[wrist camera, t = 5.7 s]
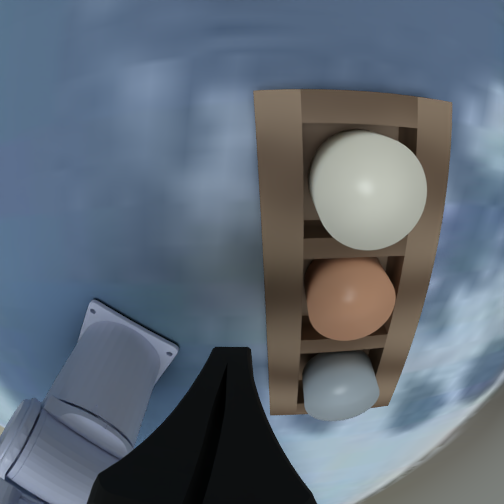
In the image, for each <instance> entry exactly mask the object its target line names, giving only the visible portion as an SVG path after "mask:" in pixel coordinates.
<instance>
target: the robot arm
mask: <svg viewBox="0 0 504 504" xmlns="http://www.w3.org/2000/svg"><path fill="white" fill-rule="evenodd" d="M93 309H94V310H95V311H94V310H93ZM178 350H179V348H178V346H177V345H176V344H174V343H172V342H170V341H168V340H166V339H164V338H162V337H160V336H158V335H157V334H155V333H153V332H151V331H149V330H147V329H145V328H144V327H142V326H140V325H138V324H136V323H135V322H133V321H131V320H129V319H128V318H126V317H124V316H122V315H121V314H119V313H117V312H116V311H114V310H112V309H110V308H109V307H107V306H105V305H104V304H102V303H101V302H99V301H97V300H92V301H91V302H90V303H89V306H88V309H87V312H86V316H85V319H84V322H83V325H82V329H81V332H80V335H79V339H78V342H77V345H76V346H75V348H74V350H73V351H72V353H71V354H70V356H69V358H68V359H67V361H66V363H65V364H64V366H63V368H62V369H61V371H60V373H59V374H58V376H57V378H56V379H55V381H54V383H53V385H52V386H51V388H50V390H49V392H48V393H47V395H46V397H45V399H44V400H43V401H42V402H40V401H38V400H37V399H36V398H32V399H25V400H23V401H22V402H21V404H20V405H19V406H18V408H17V409H16V411H15V412H14V414H13V415H12V417H11V419H10V420H9V422H8V424H7V425H6V427H5V429H4V431H3V433H2V434H1V436H0V504H317V502H316V501H315V499H314V496H313V494H312V492H311V491H310V490H309V489H308V487H307V486H306V485H305V483H304V482H303V481H302V479H301V478H300V476H299V475H298V474H297V472H296V471H295V469H294V468H293V466H292V465H291V463H290V461H289V460H288V458H287V456H286V455H285V453H284V451H283V449H282V448H281V446H280V444H279V442H278V440H277V439H276V437H275V435H274V433H273V431H272V428H271V426H270V424H269V422H268V420H267V417H266V415H265V412H264V410H263V407H262V404H261V402H260V399H259V396H258V392H257V389H256V385H255V382H254V377H253V366H252V356H251V349H250V348H248V347H215V348H213V350H212V352H211V354H210V356H209V358H208V360H207V362H206V363H205V365H204V367H203V369H202V370H201V372H200V374H199V375H198V377H197V378H196V380H195V381H194V383H193V385H192V386H191V388H190V389H189V391H188V392H187V393H186V395H185V396H184V397H183V399H182V400H181V401H180V403H179V404H178V405H177V407H176V408H175V409H174V410H173V412H172V413H171V414H170V415H169V416H168V417H167V418H166V420H165V421H164V422H163V423H162V424H161V425H160V426H159V427H158V428H157V429H156V430H155V431H154V432H153V433H152V434H151V435H150V436H149V437H148V438H147V439H146V440H144V441H143V442H142V443H141V444H140V445H139V446H137V447H136V448H135V449H134V445H135V442H136V439H137V436H138V433H139V429H140V426H141V423H142V420H143V417H144V414H145V411H146V408H147V405H148V402H149V399H150V396H151V393H152V390H153V387H154V385H155V384H156V382H157V381H158V379H159V378H160V377H161V375H162V374H163V373H164V371H165V370H166V368H167V367H168V366H169V364H170V363H171V361H172V360H173V359H174V357H175V356H176V355H177V353H178ZM169 352H171V353H169Z"/></svg>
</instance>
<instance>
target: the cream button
mask: <svg viewBox="0 0 504 504" xmlns="http://www.w3.org/2000/svg"><path fill="white" fill-rule="evenodd" d="M308 187H309V192H310V195H311V198H312V200H313V203H314V205H315V208H316V210H317V213H318V215H319V218H320V220H321V222H322V224H323V226H324V227H325V229H326V230H327V231H328V232H329V234H330V235H331V236H332V237H333V238H335V239H336V240H337V241H339V242H340V243H342V244H343V245H346V246H348V247H351V248H354V249H358V250H378V249H382V248H385V247H388V246H391V245H393V244H395V243H397V242H398V241H400V240H401V239H403V238H404V237H405V236H406V235H407V234H408V233H409V232H410V231H411V230H412V229H413V228H414V227H415V225H416V224H417V222H418V221H419V219H420V217H421V215H422V213H423V210H424V207H425V203H426V197H427V182H426V177H425V173H424V170H423V168H422V166H421V164H420V162H419V160H418V159H417V157H416V156H415V155H414V154H413V152H412V151H411V150H410V149H408V148H407V147H406V146H405V145H403V144H402V143H400V142H398V141H396V140H394V139H391V138H389V137H386V136H383V135H381V134H378V133H375V132H373V131H369V130H365V129H350V130H345V131H342V132H339V133H337V134H335V135H333V136H331V137H330V138H328V139H327V140H326V141H325V142H324V143H323V144H322V145H321V146H320V147H319V148H318V149H317V151H316V153H315V154H314V156H313V158H312V160H311V163H310V166H309V171H308Z"/></svg>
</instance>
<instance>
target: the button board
mask: <svg viewBox="0 0 504 504" xmlns="http://www.w3.org/2000/svg"><path fill="white" fill-rule="evenodd" d="M253 92H254V107H255V123H256V139H257V156H258V173H259V190H260V208H261V226H262V245H263V264H264V284H265V304H266V326H267V348H268V371H269V395H270V415H296V414H308V413H307V412H306V410H305V406H304V392H303V380H302V372H303V369H304V367H305V365H306V364H307V362H308V361H309V360H310V359H311V358H313V357H314V356H316V355H317V354H319V353H323V352H338V351H351V350H362V351H363V352H365V353H366V354H367V355H368V356H369V358H370V360H371V363H372V367H373V370H374V373H375V377H376V380H377V384H378V387H379V397H378V399H377V401H376V403H375V404H374V405H373V406H372V407H371V408H374V407H381V406H388V405H389V402H390V400H391V397H392V395H393V393H394V390H395V388H396V385H397V383H398V380H399V377H400V375H401V372H402V370H403V367H404V364H405V361H406V359H407V356H408V353H409V350H410V347H411V344H412V341H413V338H414V335H415V332H416V328H417V325H418V322H419V319H420V315H421V312H422V308H423V305H424V301H425V297H426V294H427V290H428V286H429V282H430V278H431V273H432V269H433V265H434V260H435V255H436V251H437V246H438V241H439V235H440V230H441V224H442V218H443V211H444V205H445V197H446V190H447V181H448V172H449V161H450V148H451V130H452V102H447V101H441V100H435V99H429V98H422V97H415V96H407V95H399V94H390V93H379V92H367V91H351V90H326V89H283V90H257V91H253ZM350 129H365V130H369V131H373V132H375V133H378V134H381V135H383V136H386V137H389V138H391V139H394V140H396V141H398V142H400V143H402V144H403V145H405V146H406V147H407V148H408V149H410V150H411V151H412V152H413V154H414V155H415V156H416V157H417V159H418V160H419V162H420V164H421V166H422V168H423V170H424V173H425V177H426V182H427V197H426V203H425V207H424V210H423V213H422V215H421V217H420V219H419V221H418V222H417V224H416V225H415V227H414V228H413V229H412V230H411V231H410V232H409V233H408V234H407V235H406V236H405V237H404V238H403V239H401V240H400V241H398V242H397V243H395V244H393V245H391V246H388V247H385V248H382V249H378V250H358V249H354V248H351V247H348V246H346V245H343V244H342V243H340V242H339V241H337V240H336V239H335V238H333V237H332V236H331V235H330V234H329V232H328V231H327V230H326V229H325V227H324V226H323V224H322V222H321V220H320V218H319V215H318V213H317V210H316V208H315V205H314V203H313V200H312V198H311V195H310V192H309V187H308V171H309V166H310V163H311V160H312V158H313V156H314V154H315V153H316V151H317V149H318V148H319V147H320V146H321V145H322V144H323V143H324V142H325V141H326V140H327V139H328V138H330V137H331V136H333V135H335V134H337V133H339V132H342V131H345V130H350ZM357 257H377V258H378V260H379V262H380V264H381V265H382V267H383V269H384V270H385V272H386V274H387V276H388V277H389V279H390V281H391V283H392V285H393V287H394V290H395V295H396V300H395V306H394V309H393V311H392V313H391V315H390V317H389V318H388V320H387V321H386V322H385V323H384V324H383V325H382V326H381V327H380V328H379V329H378V330H376V331H375V332H373V333H371V334H369V335H367V336H365V337H363V338H359V339H355V340H349V341H339V340H333V339H330V338H327V337H325V336H323V335H321V334H320V333H319V332H317V331H316V330H315V328H314V327H313V326H312V324H311V322H310V319H309V315H308V308H307V302H306V295H305V289H304V278H305V274H306V271H307V269H308V267H309V266H310V264H311V263H312V261H313V260H314V259H329V258H357Z"/></svg>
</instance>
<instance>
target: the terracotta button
mask: <svg viewBox="0 0 504 504" xmlns="http://www.w3.org/2000/svg"><path fill="white" fill-rule="evenodd" d="M304 289H305V295H306V302H307V308H308V315H309V319H310V322H311V324H312V326H313V327H314V328H315V330H316V331H317V332H319V333H320V334H321V335H323V336H325V337H327V338H330V339H333V340H339V341H349V340H355V339H359V338H363V337H365V336H367V335H369V334H371V333H373V332H375V331H376V330H378V329H379V328H380V327H381V326H382V325H383V324H384V323H385V322H386V321H387V320H388V318H389V317H390V315H391V313H392V311H393V309H394V306H395V300H396V295H395V290H394V287H393V285H392V283H391V281H390V279H389V277H388V276H387V274H386V272H385V270H384V269H383V267H382V265H381V264H380V262H379V260H378V258H377V257H357V258H329V259H314V260H313V261H312V263H311V264H310V266H309V267H308V269H307V271H306V274H305V278H304Z"/></svg>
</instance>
